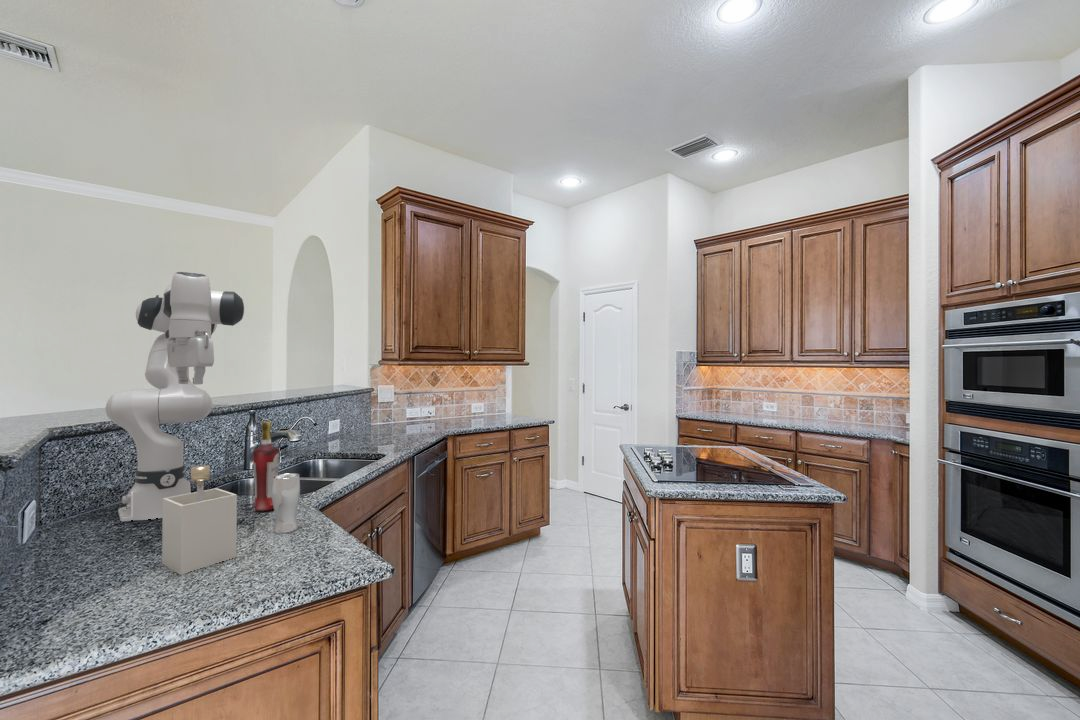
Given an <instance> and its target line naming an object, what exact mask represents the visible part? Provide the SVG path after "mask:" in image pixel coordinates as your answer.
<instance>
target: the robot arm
mask: <svg viewBox="0 0 1080 720" xmlns="http://www.w3.org/2000/svg"><path fill="white" fill-rule="evenodd" d="M171 280H172V281H171V284H169V285H168V286H167V287H166V289H165V290H164V292H163V294H162V295H163V297H159V296H160V294H157V295H156V296H155V297H149V298H146V299H144V300H142V302H141V303H140V304H139V305H138V306H137V308H136V310H135V319H136V321H137V324H138V326H139V327H140V328H142V329H146V330H149V331H152V330H153V331H156V332H160V333H162V334H160V335H158V337H156V339H155V340H154V342H153V344H152V346H151V349H150V351H149V355H148V358H147V363H146V369H145V372H144V376H145V379H146V381H147V382H148V383H149V384H150V385H151V386H152V387H154V388H150V389H148V388H143V389H140V388H139V389H130V390H124V391H123V390H122V391H118V392H115V393H114V394H113V395H111V396H110V397H109V399H108V400H107V401H106V405H105V414H106V416H107V418H108V419H109V420H110V421H111V422H112V423H114V424H115V425H117V426H119V427H120V428H122V429H123V430H125V431H126V432H128V434H129V435H130V437H131V438H132V440H133V441H134V444H135V448H136V455H137V470H136V471H135V475H134V482H135V483H134V485H133V486H132V487H131V488H130V490H129V491H128V493H127V494H126V495H122V496H121V503H122V504H126V506H123V507H119V508H118V510H117V513H118V517H119V520H120V522H131V520H133V521H149V520H148V519H151V520H157V519H156V518H158V519H162V518H163V498H168V497H173V496H178V495H183V494H189V493H192V492H191V491H192V490H191V483H190V482H191V481H189V480H187V479H186V478H185V476H186V467H185V465H184V443H183V440H181V438H179V437H178V436H175V435H173V434H169V433H167V432H163V430H161V428H160V426H159V425H164V424H165V425H166V424H182V423H191V422H197V421H200V420H204V419H205V418H207V416H208V415H209V414H210V412H211V411H212V407H213V401H212V398H211V396H210V394H209V392H207V391H206V390H203V389H201V388H199V387H198V386H196V385H202V384H203V383H204V377H205V374H206V367H213V365H214V364H215V351H214V342H213V339H212V335H213V333H214V332H216V329H217V327H218V325H222V326H229V327H230V326H232V327H233V326H235V325H237V324H238V323H240V322H241V321H242V320H243V318H244V314H245V303H244V300H243V298H242V297H241V296H240V295H239V294H238V293H236V292H235V291H228V290H227V291H226V290H225V291H220V290H211V283H210V278H209V276H208V275H206V274H203V273H196V272H186V271H177V272H175V273H173V275H172V279H171ZM190 368H193V371H194V374H193V377H192V381H191V379H190V372H189V371H190Z"/></svg>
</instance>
